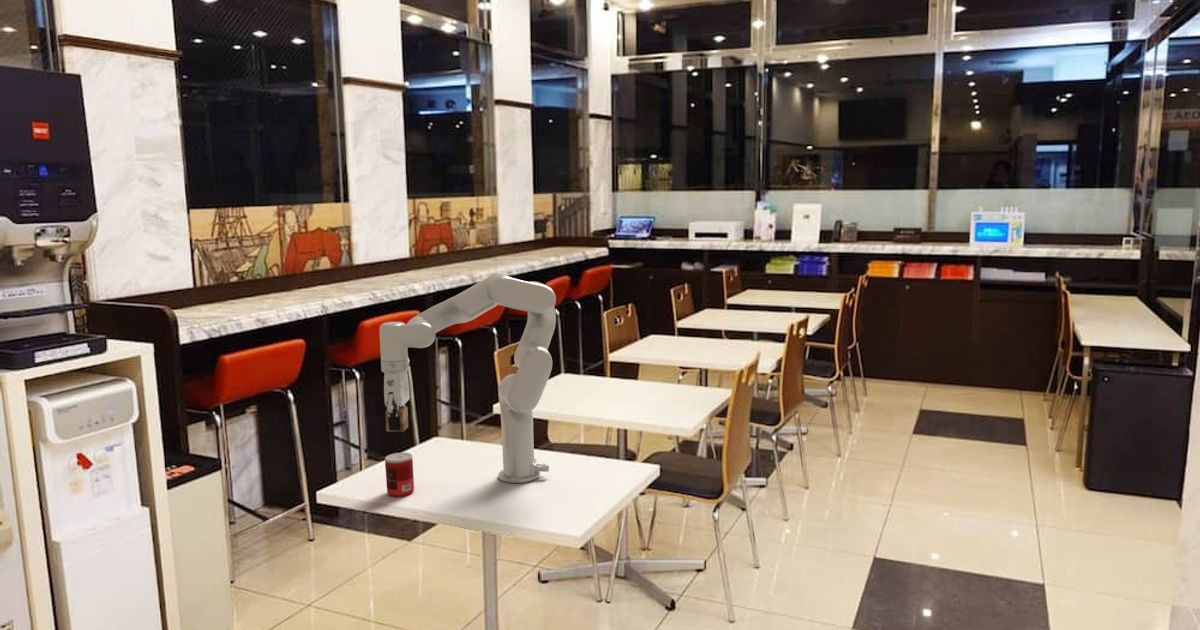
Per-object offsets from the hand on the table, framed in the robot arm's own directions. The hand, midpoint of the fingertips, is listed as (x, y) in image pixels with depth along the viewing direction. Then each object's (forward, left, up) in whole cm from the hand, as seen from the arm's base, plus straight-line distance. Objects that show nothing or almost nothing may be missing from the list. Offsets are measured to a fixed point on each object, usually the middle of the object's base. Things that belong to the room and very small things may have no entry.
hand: (397, 426), depth 248 cm
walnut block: (0, 0, -1) cm, 1 cm away
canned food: (0, 0, -20) cm, 20 cm away
